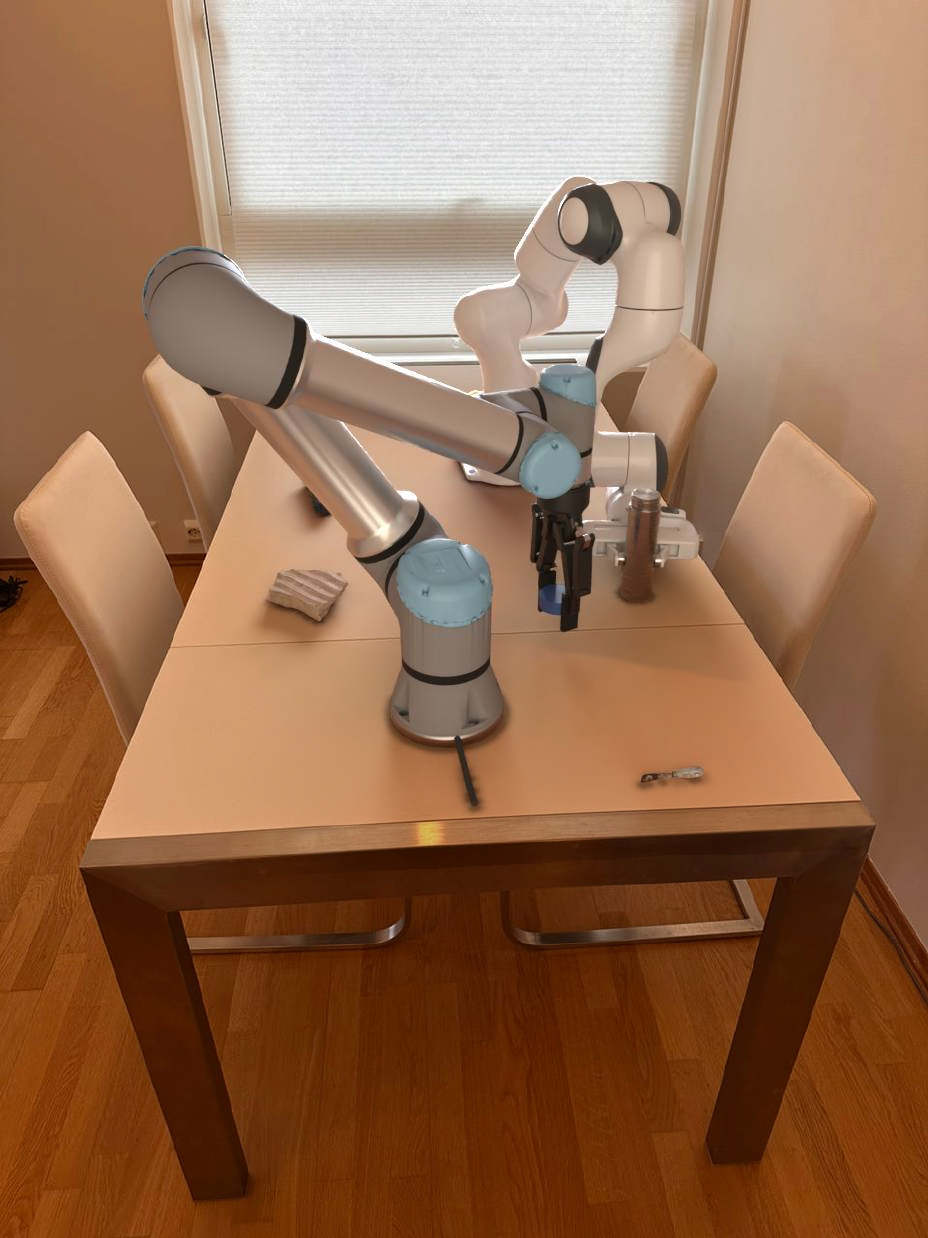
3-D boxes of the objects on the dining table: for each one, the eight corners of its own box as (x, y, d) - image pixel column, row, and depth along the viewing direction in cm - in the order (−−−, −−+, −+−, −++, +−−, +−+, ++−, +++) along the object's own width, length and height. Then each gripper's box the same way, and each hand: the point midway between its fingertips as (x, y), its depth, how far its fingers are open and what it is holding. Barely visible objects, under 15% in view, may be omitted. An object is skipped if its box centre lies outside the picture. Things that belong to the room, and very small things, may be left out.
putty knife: (703, 777, 109) (705, 767, 109) (642, 788, 108) (644, 777, 107) (700, 772, 110) (702, 762, 109) (639, 782, 109) (640, 771, 108)
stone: (357, 587, 149) (356, 574, 148) (321, 622, 140) (319, 608, 139) (291, 573, 154) (290, 560, 152) (252, 607, 144) (250, 593, 143)
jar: (622, 585, 150) (632, 485, 140) (652, 589, 149) (665, 489, 139) (617, 599, 146) (627, 497, 136) (648, 604, 145) (660, 502, 135)
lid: (538, 614, 134) (538, 602, 132) (539, 595, 139) (540, 582, 137) (577, 616, 133) (578, 604, 132) (577, 596, 138) (578, 584, 137)
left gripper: (625, 497, 119) (613, 642, 131) (551, 451, 133) (546, 586, 146) (578, 509, 116) (569, 656, 129) (507, 461, 130) (506, 597, 143)
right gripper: (574, 506, 154) (576, 543, 142) (694, 510, 153) (706, 547, 141) (572, 539, 157) (573, 577, 146) (689, 543, 156) (700, 582, 144)
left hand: (557, 618), depth 137 cm, fingers closed on lid, 6 cm apart
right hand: (639, 562), depth 143 cm, fingers closed on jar, 5 cm apart
